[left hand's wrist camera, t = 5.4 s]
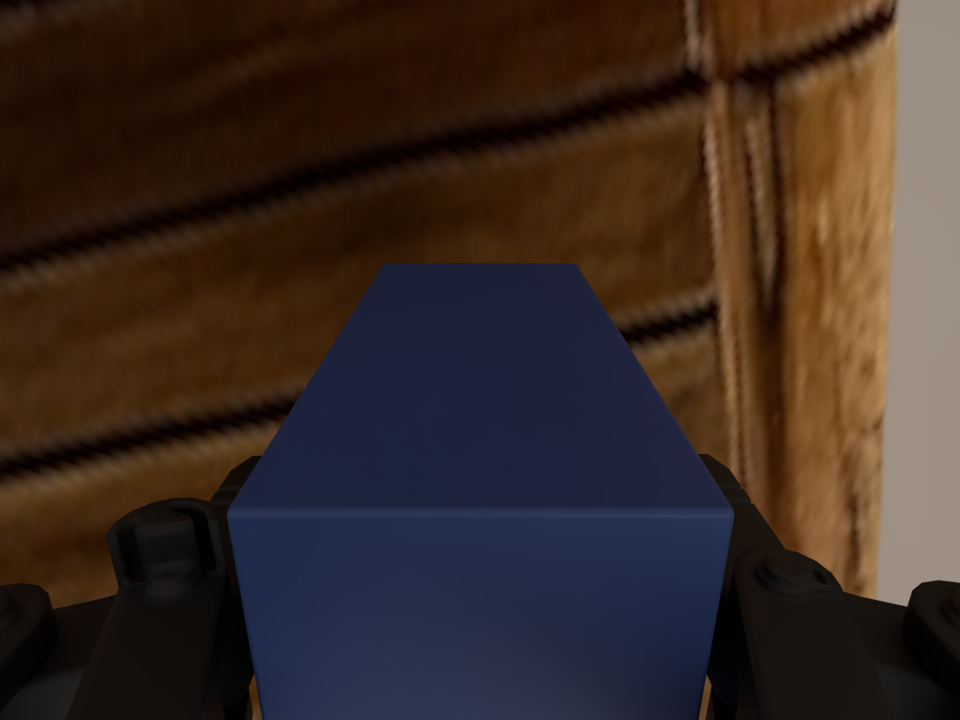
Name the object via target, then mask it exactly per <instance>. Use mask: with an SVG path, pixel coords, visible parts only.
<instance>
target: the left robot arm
mask: <svg viewBox="0 0 960 720" xmlns="http://www.w3.org/2000/svg"><path fill="white" fill-rule="evenodd" d="M698 455H699V457H700V458H701V460H702V462H703V463H704V465H705V466H706V468H707V469H708V471H709V472H710V474H711V476H712V477H713V479H714V480H715V482H716V483H717V485H718V486H719V488H720V490H721V491H722V493H723V494H724V496H725V497H726V499H727V501H728V502H729V504H730V505H731V507H732V508H733V511H734V521H733V526H732V532H731V538H730V543H729V549H728V555H727V560H726V566H725V572H724V577H723V583H722V589H721V594H720V600H719V606H718V611H717V617H716V623H715V628H714V634H713V640H712V645H711V651H710V657H709V662H708V668H707V676H708V678H709V680H710V683H711V685H712V687H711V692H710V698H709V703H708V709H707V714H706V720H960V583H957V582H949V581H941V580H937V581H931V582H924V583H921V584H920V585H919V586H917V587H916V588H915V589H914V590H913V591H912V593H911V596H910V600H909V603H908V606H907V607H906V606H901V605H897V604H892V603H887V602H883V601H878V600H874V599H869V598H864V597H860V596H856V595H853V594H849V593H846V592H843V590H842V588H841V586H840V584H839V583H838V581H837V580H836V579H835V577H834V576H833V574H832V573H831V572H830V571H828V570H827V569H826V568H824V567H823V566H822V565H820V564H819V563H818V562H817V561H815V560H813V559H811V558H808V557H806V556H804V555H802V554H800V553H798V552H794V551H790V550H787V549H785V548H784V547H783V545H782V544H781V542H780V541H779V539H778V538H777V537H776V535H775V534H774V532H773V531H772V529H771V528H770V527H769V525H768V524H767V522H766V521H765V519H764V518H763V517H762V515H761V514H760V512H759V511H758V509H757V508H756V507H755V505H754V504H751V499H750V498H749V497H748V495H747V494H746V492H745V491H744V489H741V485H740V484H739V482H738V481H737V479H736V478H735V477H734V475H733V474H732V472H731V471H730V470H729V468H727V467H726V466H724V465H723V464H721V463H720V462H718V461H717V460H716V459H714V458H713V457H711V456H710V455H708V454H698ZM261 457H262V456H252V457H250V458H249V459H247V460H246V461H244V462H243V463H241V464H240V465H239V466H237V467H236V468H234V469H233V470H231V471H230V473H229V474H228V476H227V477H226V479H225V480H224V481H223V483H222V484H221V486H220V487H219V491H216V493H215V494H214V496H213V497H212V499H211V500H210V502H209V503H208V502H207V501H203V500H199V499H195V498H172V499H167V500H163V501H158V502H154V503H150V504H148V505H146V506H143V507H141V508H138V509H136V510H133V511H131V512H130V513H128V514H127V515H125V516H124V517H122V518H121V519H119V520H118V521H116V522H115V523H114V525H113V526H112V527H111V528H110V529H109V531H108V532H107V533H106V534H105V536H106V540H107V544H108V547H109V551H110V555H111V559H112V562H113V566H114V570H115V574H116V578H117V581H118V585H119V589H118V591H117V594H116V595H113V596H109V597H106V598H102V599H98V600H94V601H89V602H85V603H80V604H75V605H71V606H66V607H62V608H57V609H53V608H52V604H51V601H50V598H49V595H48V593H47V592H46V591H45V590H43V589H42V588H41V587H40V586H38V585H32V584H25V583H18V584H9V585H1V586H0V720H252V716H253V711H252V704H251V698H250V692H249V685H250V683H251V680H252V678H253V675H254V668H253V662H252V656H251V651H250V645H249V639H248V634H247V628H246V622H245V616H244V611H243V605H242V599H241V594H240V588H239V582H238V577H237V571H236V565H235V560H234V554H233V548H232V542H231V537H230V531H229V525H228V520H227V512H228V509H229V507H230V505H231V504H232V502H233V501H234V499H235V498H236V496H237V494H238V493H239V491H240V490H241V488H242V487H243V485H244V484H245V482H246V480H247V479H248V477H249V476H250V474H251V473H252V471H253V469H254V468H255V466H256V465H257V463H258V462H259V460H260V458H261Z"/></svg>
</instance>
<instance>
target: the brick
mask: <svg viewBox="0 0 960 720" xmlns="http://www.w3.org/2000/svg"><path fill="white" fill-rule="evenodd" d="M227 520H228V525H229V531H230V537H231V542H232V548H233V554H234V560H235V565H236V571H237V577H238V582H239V588H240V594H241V599H242V605H243V611H244V616H245V622H246V628H247V634H248V639H249V645H250V651H251V656H252V662H253V668H254V673H255V679H256V685H257V691H258V696H259V702H260V708H261V713H262V719H263V720H698V719H699V713H700V708H701V702H702V696H703V691H704V685H705V679H706V674H707V668H708V662H709V657H710V651H711V645H712V640H713V634H714V628H715V623H716V617H717V611H718V606H719V600H720V594H721V589H722V583H723V577H724V572H725V566H726V560H727V555H728V549H729V543H730V538H731V532H732V526H733V521H734V511H733V508H732V507H731V505H730V504H729V502H728V501H727V499H726V497H725V496H724V494H723V493H722V491H721V490H720V488H719V486H718V485H717V483H716V482H715V480H714V479H713V477H712V476H711V474H710V472H709V471H708V469H707V468H706V466H705V465H704V463H703V462H702V460H701V458H700V457H699V455H698V454H697V452H696V451H695V449H694V447H693V446H692V444H691V443H690V441H689V440H688V438H687V437H686V435H685V433H684V432H683V430H682V429H681V427H680V426H679V424H678V422H677V421H676V419H675V418H674V416H673V415H672V413H671V412H670V410H669V408H668V407H667V405H666V404H665V402H664V401H663V399H662V397H661V396H660V394H659V393H658V391H657V390H656V388H655V387H654V385H653V383H652V382H651V380H650V379H649V377H648V376H647V374H646V373H645V371H644V369H643V368H642V366H641V365H640V363H639V362H638V360H637V358H636V357H635V355H634V354H633V352H632V351H631V349H630V348H629V346H628V344H627V343H626V341H625V340H624V338H623V337H622V335H621V333H620V332H619V330H618V329H617V327H616V326H615V324H614V323H613V321H612V319H611V318H610V316H609V315H608V313H607V312H606V310H605V308H604V307H603V305H602V304H601V302H600V301H599V299H598V298H597V296H596V294H595V293H594V291H593V290H592V288H591V287H590V285H589V283H588V282H587V280H586V279H585V277H584V276H583V274H582V273H581V271H580V269H579V268H578V266H577V265H576V264H384V265H383V267H382V269H381V270H380V272H379V273H378V275H377V276H376V278H375V280H374V281H373V283H372V284H371V286H370V287H369V289H368V291H367V292H366V294H365V295H364V297H363V298H362V300H361V302H360V303H359V305H358V306H357V308H356V309H355V311H354V312H353V314H352V316H351V317H350V319H349V320H348V322H347V323H346V325H345V327H344V328H343V330H342V331H341V333H340V334H339V336H338V338H337V339H336V341H335V342H334V344H333V345H332V347H331V349H330V350H329V352H328V353H327V355H326V356H325V358H324V360H323V361H322V363H321V364H320V366H319V367H318V369H317V371H316V372H315V374H314V375H313V377H312V378H311V380H310V382H309V383H308V385H307V386H306V388H305V389H304V391H303V393H302V394H301V396H300V397H299V399H298V400H297V402H296V403H295V405H294V407H293V408H292V410H291V411H290V413H289V414H288V416H287V418H286V419H285V421H284V422H283V424H282V425H281V427H280V429H279V430H278V432H277V433H276V435H275V436H274V438H273V440H272V441H271V443H270V444H269V446H268V447H267V449H266V451H265V452H264V454H263V455H262V457H261V458H260V460H259V462H258V463H257V465H256V466H255V468H254V469H253V471H252V473H251V474H250V476H249V477H248V479H247V480H246V482H245V484H244V485H243V487H242V488H241V490H240V491H239V493H238V494H237V496H236V498H235V499H234V501H233V502H232V504H231V505H230V507H229V509H228V512H227Z"/></svg>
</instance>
